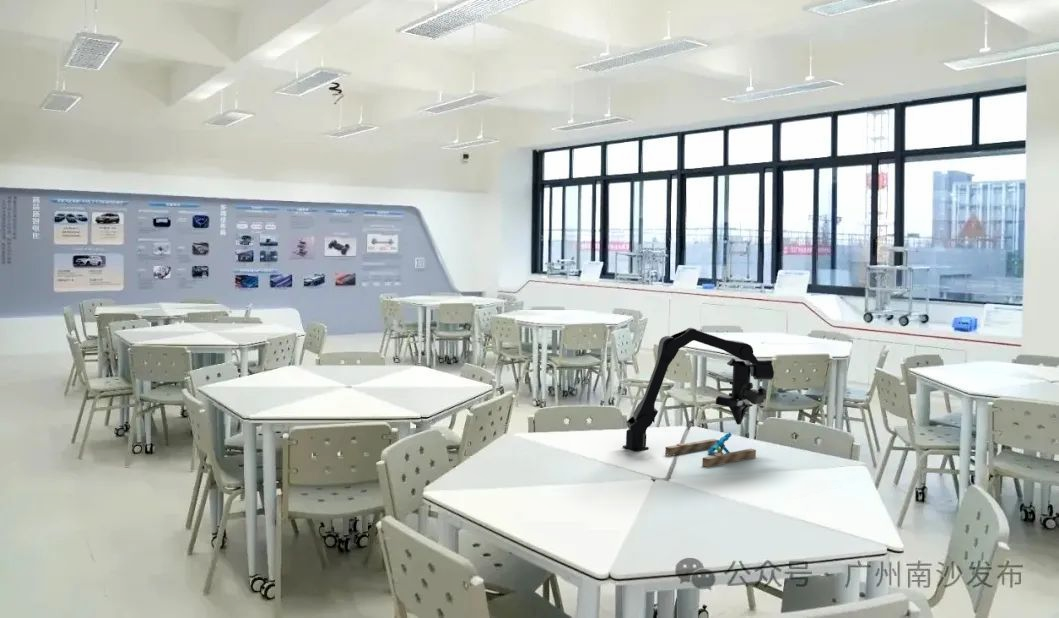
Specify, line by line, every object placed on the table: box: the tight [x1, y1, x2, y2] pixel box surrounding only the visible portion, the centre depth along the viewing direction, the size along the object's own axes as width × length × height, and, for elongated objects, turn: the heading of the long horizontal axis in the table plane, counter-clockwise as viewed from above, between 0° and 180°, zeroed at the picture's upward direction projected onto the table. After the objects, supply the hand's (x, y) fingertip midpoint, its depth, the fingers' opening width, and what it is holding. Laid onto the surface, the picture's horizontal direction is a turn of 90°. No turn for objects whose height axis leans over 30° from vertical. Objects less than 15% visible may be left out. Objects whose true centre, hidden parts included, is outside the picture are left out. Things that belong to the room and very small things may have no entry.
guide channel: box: [665, 438, 757, 468], centre depth 266 cm, size 24×18×3 cm
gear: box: [707, 432, 732, 455], centre depth 268 cm, size 11×6×10 cm
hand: (738, 424), depth 274 cm, fingers closed
